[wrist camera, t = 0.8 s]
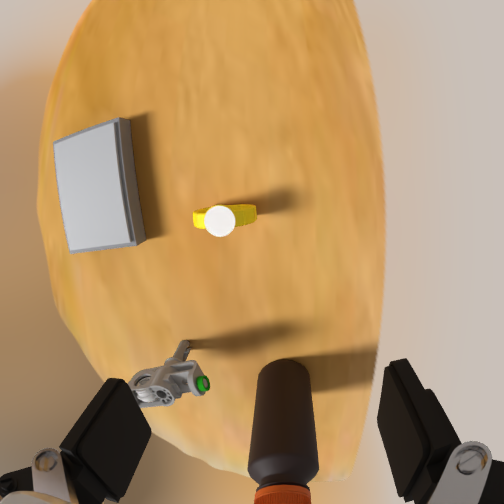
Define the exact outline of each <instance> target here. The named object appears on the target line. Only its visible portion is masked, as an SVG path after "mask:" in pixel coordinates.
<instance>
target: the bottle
mask: <svg viewBox="0 0 504 504" xmlns="http://www.w3.org/2000/svg"><path fill="white" fill-rule="evenodd" d="M318 470H319V462H318V451H317V441H316V431H315V421H314V412H313V403H312V394H311V386H310V378H309V373H308V372H307V370H306V368H305V367H304V366H302V365H301V364H300V363H297V362H295V361H290V360H279V361H274V362H272V363H269V364H268V365H266V366H265V367H264V368H263V369H262V370H261V372H260V373H259V376H258V382H257V391H256V400H255V409H254V418H253V427H252V436H251V444H250V453H249V461H248V472H249V474H250V477H251V478H252V479H254V480H255V481H256V482H257V483H258V484H259V487H258V488H257V490H256V494H255V500H254V504H311V495H310V489H309V487H308V486H307V485H306V484H307V483H308V482H309V481H310V480H312V479H313V478H314V477H315V476H316V474H317V472H318Z"/></svg>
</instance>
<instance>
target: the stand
mask: <svg viewBox="0 0 504 504" xmlns="http://www.w3.org/2000/svg"><path fill="white" fill-rule="evenodd" d="M53 147H54V160H55V170H56V179H57V186H58V194H59V200H60V207H61V213H62V218H63V224H64V229H65V234H66V238H67V243H68V247H69V252H70V254H74V253H82V252H90V251H98V250H106V249H114V248H122V247H130V246H137V245H139V244H140V243H142V242H144V241H146V235H145V230H144V224H143V218H142V212H141V206H140V200H139V193H138V187H137V179H136V172H135V164H134V156H133V146H132V136H131V125H130V120H127V119H123V118H120V117H119V118H115V119H112V120H109V121H106V122H103V123H100V124H98V125H95V126H92V127H89V128H87V129H84V130H81V131H79V132H76V133H74V134H71V135H69V136H66V137H64V138H61V139H59V140H57V141H54V142H53Z"/></svg>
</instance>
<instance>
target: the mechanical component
mask: <svg viewBox="0 0 504 504" xmlns="http://www.w3.org/2000/svg"><path fill="white" fill-rule="evenodd" d="M188 346H190V344H189V342H188V341H187V340H182V341H181V342H180V344H179V346H178V348H177V350H176V352H175V353H174V355H173V357H171V358H168V359H166V361H165V363H164V366H160V367H155V368H150V369H145V370H141V371H139V372H138V373H136V374H135V375H134V376H133V378H132V379H131V381H129V382H128V385H129V387H130V389H131V391H132V393H133V395H134V397H135V399H136V401H137V403H138V405H139V407H140V408H144V407H155V406H170V405H172V404H173V403H174V401H175V399H176V398H181V396H182V393H187V392H192V393H193V394H194V395H195V396H201V395H204V394H205V392H206V391H208V390H209V389H210V382H209V379H208V378H207V376H205V375H204V374H203V372H202V370H201V369H200V367H199V365H198V363H197V362H196V361H195V360H189V361H186V358H187V356H188V354H189V352H190V350H191V348H192V347H190V348H187V347H188ZM186 383H188V384H186ZM156 399H157V400H156ZM152 401H153V402H152Z"/></svg>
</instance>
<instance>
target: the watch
mask: <svg viewBox="0 0 504 504" xmlns="http://www.w3.org/2000/svg"><path fill="white" fill-rule="evenodd" d="M256 219H257V214H256V206H255V205H251V204H237V205H223V204H218V205H214V206H212V207H208V208H203V209H199V210H196V211H194V212H193V221H194V226H195V227H197V228H200V229H207V231H208V232H209V233H211V234H212V235H214V236H218V237H222V236H226V235H228V234H230V233H231V232H232V230H233V229H234V227H237V226H243V225H247V224H250V223H253V222H255V221H256Z"/></svg>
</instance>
